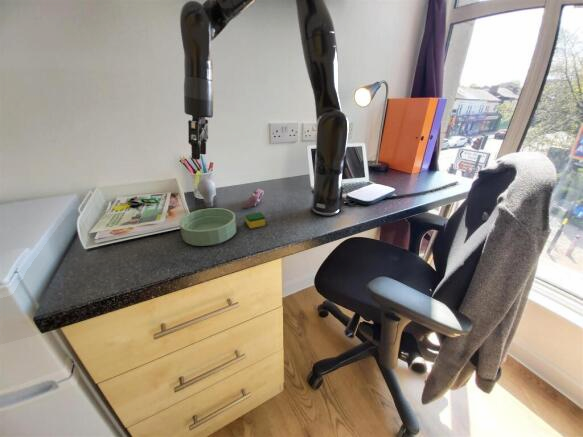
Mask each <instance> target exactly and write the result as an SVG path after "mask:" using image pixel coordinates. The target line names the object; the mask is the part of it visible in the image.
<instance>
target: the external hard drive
mask: <svg viewBox="0 0 583 437" xmlns="http://www.w3.org/2000/svg"><path fill="white" fill-rule="evenodd" d="M395 193H396V189H395V188H394V187H392V186H387V185H383V184H379V183H372V184H371V183H370V184H368V185H366V186H363V187H360V188H358V189H357V188H356V189H354V190H352V191H350V192H347V193H346V197H345V199H346V200H348V201H349V202H350V201H351V202H353V203H355V202H357V204H360V205H364V206H370V205H374V204H375V203H378V202H380V201H382V200H385V199H384V198H385V197H386V196H394V194H395Z"/></svg>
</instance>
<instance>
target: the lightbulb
mask: <svg viewBox="0 0 583 437" xmlns="http://www.w3.org/2000/svg"><path fill="white" fill-rule="evenodd" d="M196 187H197V191H198V193H199V194H200V196H201V197H202V199H203V202H204V204H205V208H207V209H208V208H213V207H214V195H215V192H216V189H217V188H216V184H215V182H214V180H212V179H210V178H201V179H200V180H199V181H198V183H197V186H196Z"/></svg>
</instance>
